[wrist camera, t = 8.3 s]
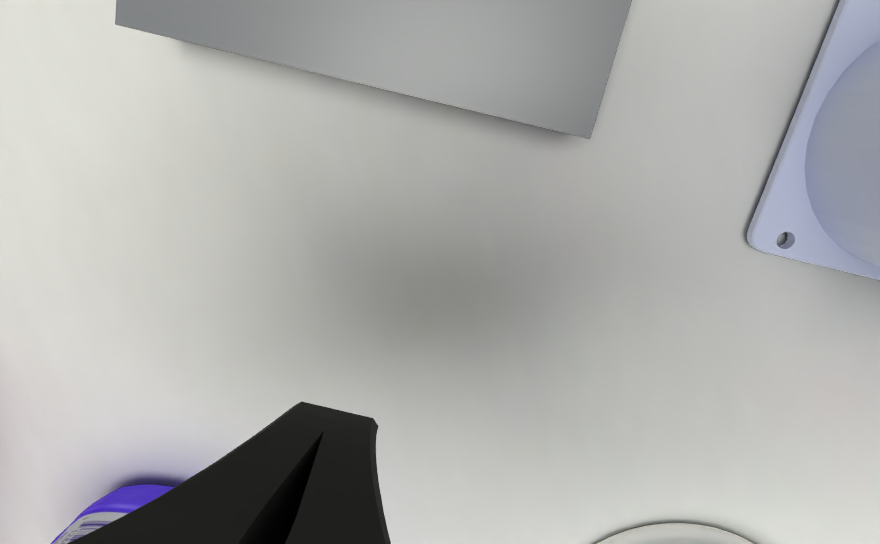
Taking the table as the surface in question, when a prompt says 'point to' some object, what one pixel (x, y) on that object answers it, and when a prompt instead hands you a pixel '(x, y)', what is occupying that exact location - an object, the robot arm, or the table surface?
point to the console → (421, 47)
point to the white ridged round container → (675, 535)
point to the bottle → (110, 510)
